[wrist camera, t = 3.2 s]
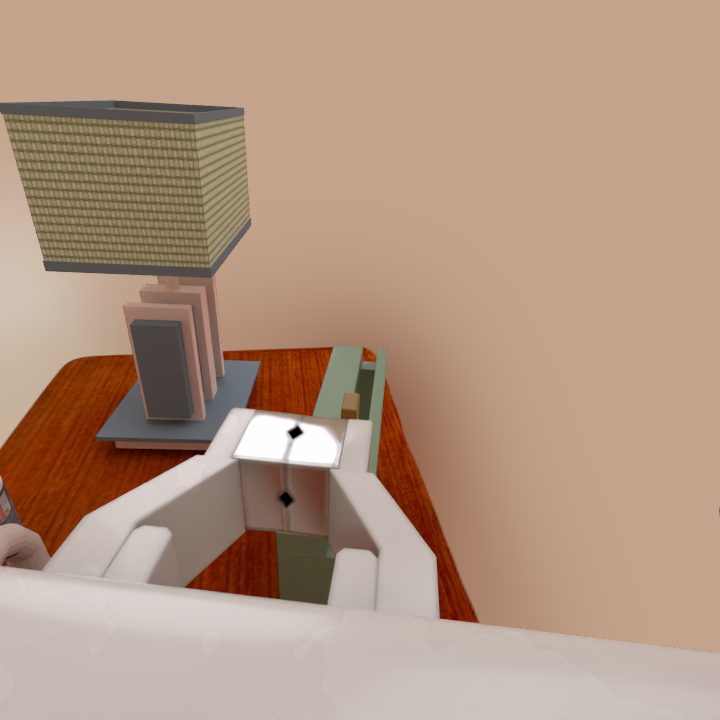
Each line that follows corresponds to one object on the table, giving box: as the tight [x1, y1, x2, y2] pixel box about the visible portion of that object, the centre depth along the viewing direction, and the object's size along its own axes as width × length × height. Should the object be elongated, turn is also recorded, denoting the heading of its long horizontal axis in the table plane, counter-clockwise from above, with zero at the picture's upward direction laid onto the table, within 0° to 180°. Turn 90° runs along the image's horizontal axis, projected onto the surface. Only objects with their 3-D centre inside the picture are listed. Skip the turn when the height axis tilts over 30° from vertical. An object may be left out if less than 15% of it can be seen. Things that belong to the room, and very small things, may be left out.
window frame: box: [276, 345, 387, 605], centre depth 38 cm, size 5×22×14 cm, turn 175°
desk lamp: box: [0, 101, 261, 450], centre depth 49 cm, size 18×14×33 cm
